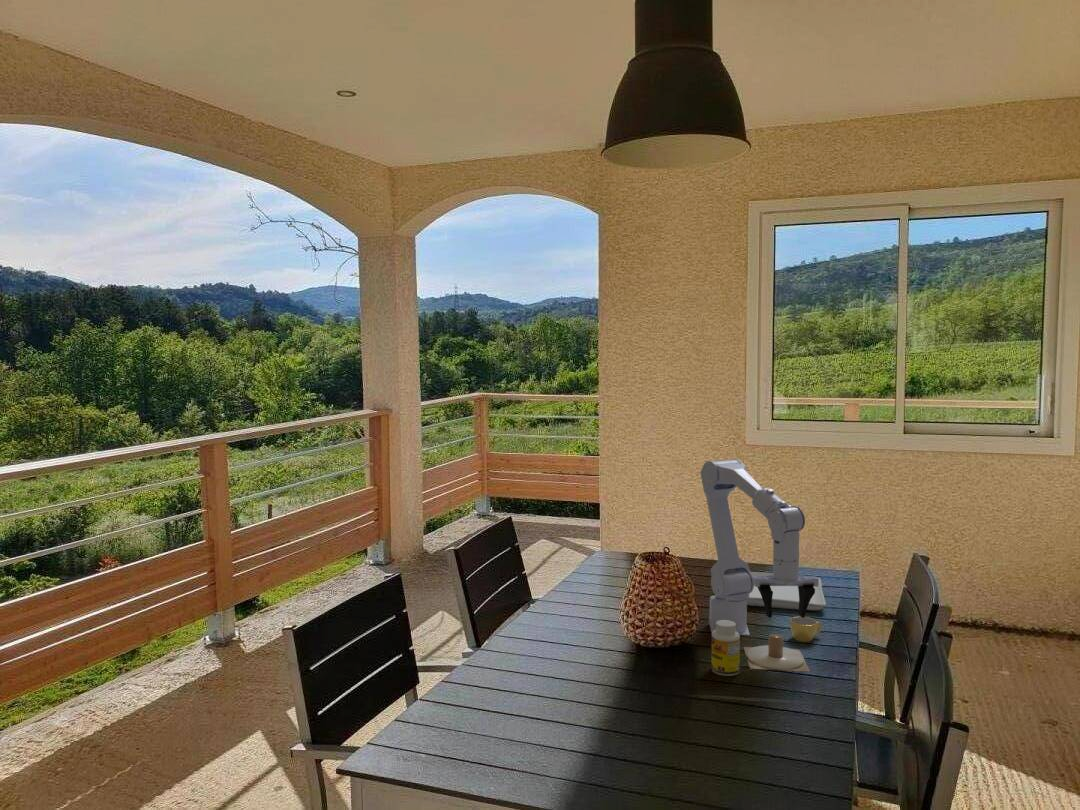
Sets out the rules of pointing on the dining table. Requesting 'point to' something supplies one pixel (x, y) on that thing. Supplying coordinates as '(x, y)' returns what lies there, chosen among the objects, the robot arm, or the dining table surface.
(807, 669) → the mat
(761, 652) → the lid
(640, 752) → the dining table surface
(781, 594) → the square plate
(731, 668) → the supplement bottle
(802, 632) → the cup
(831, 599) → the dining table surface
